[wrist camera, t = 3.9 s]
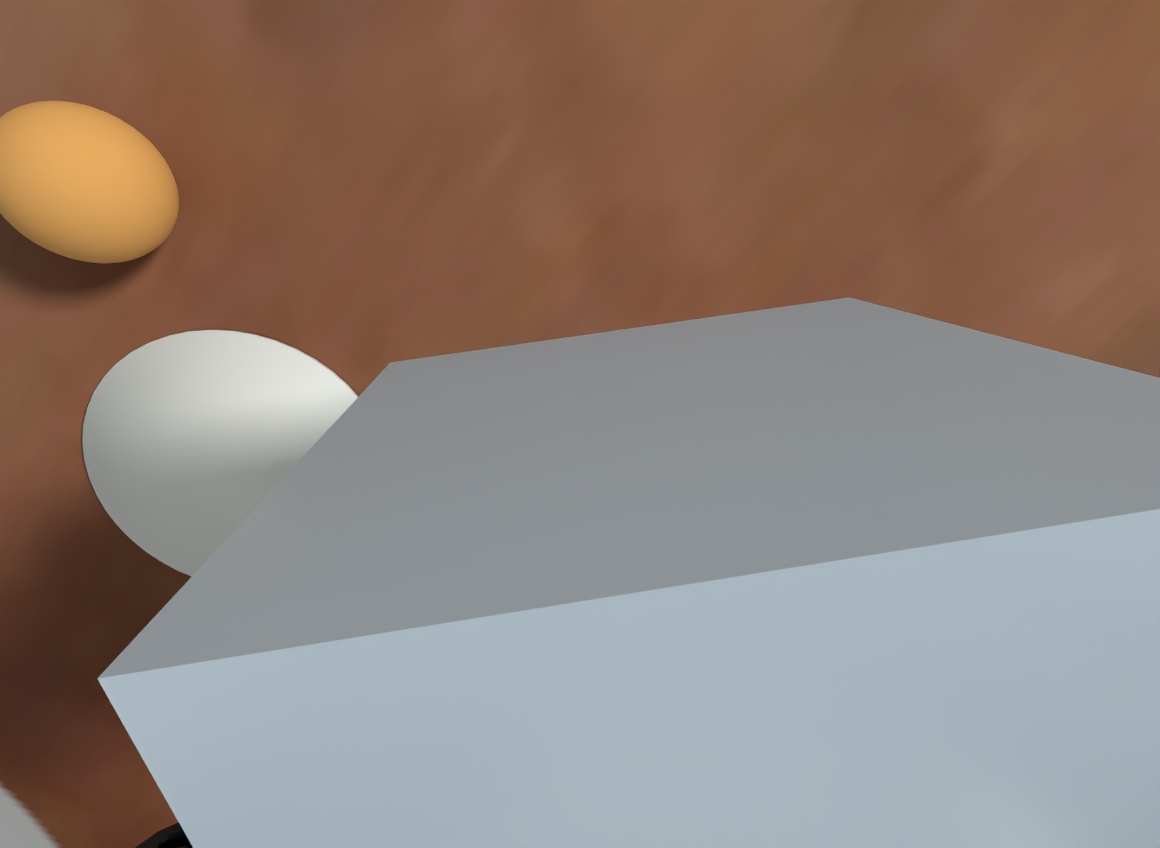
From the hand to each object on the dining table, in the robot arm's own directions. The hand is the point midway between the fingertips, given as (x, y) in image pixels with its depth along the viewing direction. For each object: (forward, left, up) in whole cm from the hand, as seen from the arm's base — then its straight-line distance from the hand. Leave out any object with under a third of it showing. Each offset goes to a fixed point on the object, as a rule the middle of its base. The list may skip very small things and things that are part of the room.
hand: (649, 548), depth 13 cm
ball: (+10, +16, -11) cm, 22 cm away
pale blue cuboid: (0, 0, -1) cm, 1 cm away
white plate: (-2, +16, -13) cm, 21 cm away
